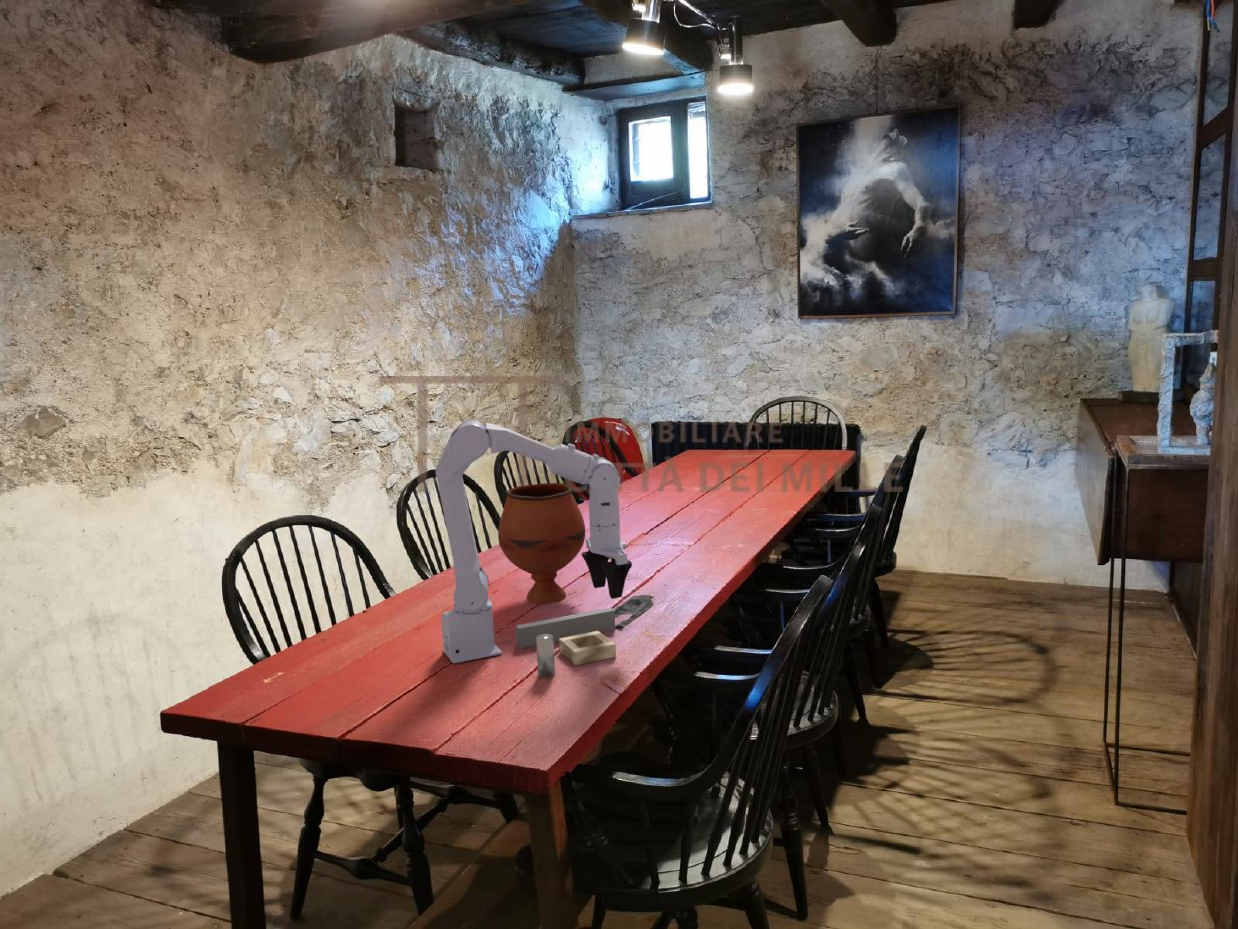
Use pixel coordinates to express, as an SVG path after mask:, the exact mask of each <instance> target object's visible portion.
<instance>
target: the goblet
mask: <svg viewBox="0 0 1238 929" xmlns="http://www.w3.org/2000/svg"><path fill="white" fill-rule="evenodd" d="M572 492H573V489H572V487H571V486H570V485H568V484H567V483H566V484H565V483H561V482H557V483H556V482H548V483H536V484H535V483H533V484H525V485H522V486H521V485H520V486H515V487H513V488H510V489H508V490H507V491H506V500H505V503H504V506H503V509H502V512H501V516H500V519H499V520H500V521H499V524H498V530H497V531H498V532H497V538H498V544H499V547H500V549H501V551H502V553H503V554H504V556H505V557H506V558H507V559H508V560H509V561H510V563H511V564H513V565H514V566H515V567H517V568H518V569H520V570H522V571H523V572H526V573H528V574H530V579H531V580H533V581H534V584H533V585H532V587H531V588H530V589H529V591H528V592H527V595H526V600H527V601H528V602H529V603H532V604H539V605H540V604H541V605H543V604H544V605H545V604H552V603H556V602H559V601H562V600H564V599H565V598H566V597H567V594H566V592H565V590H564V588H562V587H561V586H560V585H559V583H557V582H556V581H555V579H556V578H557V577H558V572H559V571H561V570H562V569H564V568H565V567H566V566H568V565H569V564H570V563H571V562H572V561H573V560H574V559H575V558H576V557H577V556H578V554H579V553H580V552H581V550H582V549H583V547H584V543H585V541H586V525H585V519H584V517H583V515H582V512H581V510H580V507H579V505H578V503H577V502H576V499H575V496H574V494H573V493H572Z"/></svg>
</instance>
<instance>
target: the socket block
mask: <svg viewBox="0 0 1238 929" xmlns="http://www.w3.org/2000/svg"><path fill="white" fill-rule="evenodd" d="M558 642H559V652H560V653H561V654H562V655H564V657H566V658H567V659H568V660H569V661H570V662H572V664H574V665H575V666H579V665H584V664H589V663H594V662H598V661H603V660H607V659H612V658H616V657H617V652H616V651H617V650H616V643H615V642H613V641H612V640H611V639H609V638H608V637H607V636H606V635H605V634H603V632H601V633H600V632H599V631H595V632H590V633H585V634H580V635H575V636H569V637H564V638H559V641H558Z"/></svg>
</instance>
